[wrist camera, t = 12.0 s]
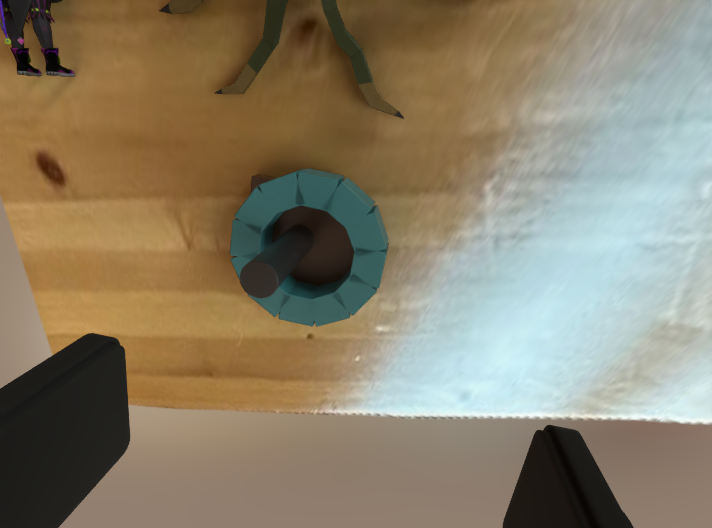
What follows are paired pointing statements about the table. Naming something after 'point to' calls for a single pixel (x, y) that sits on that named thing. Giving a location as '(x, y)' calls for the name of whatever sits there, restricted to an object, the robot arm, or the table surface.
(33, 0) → the character figure
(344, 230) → the stand
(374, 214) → the ring
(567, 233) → the table surface
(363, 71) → the octopus toy
